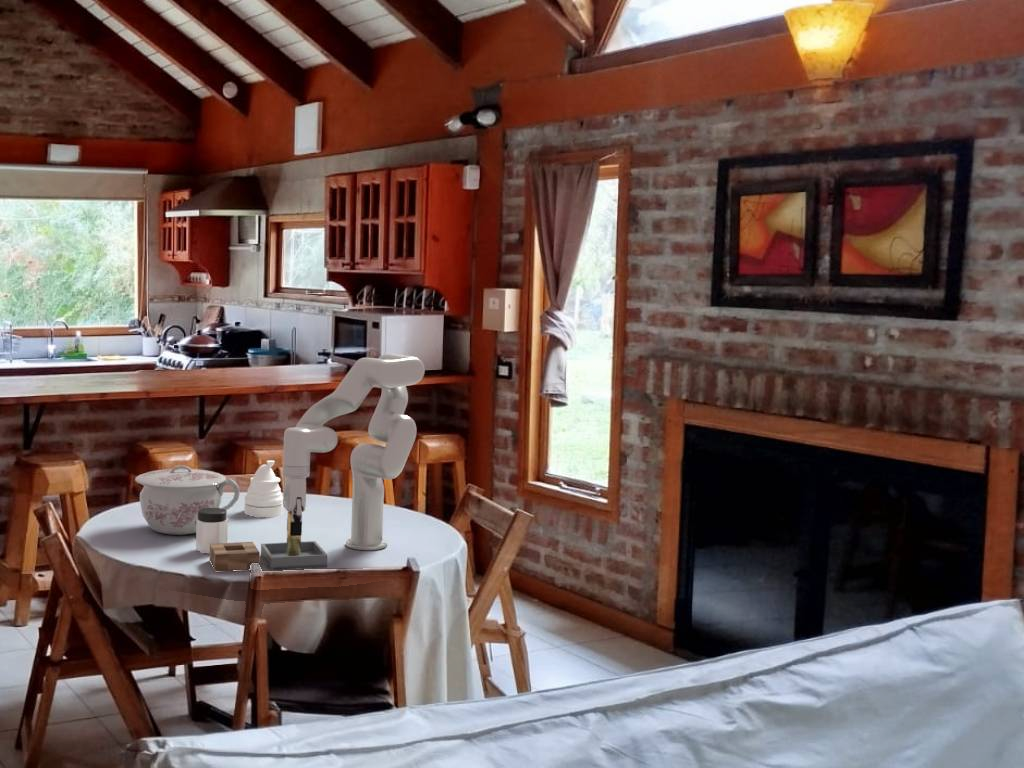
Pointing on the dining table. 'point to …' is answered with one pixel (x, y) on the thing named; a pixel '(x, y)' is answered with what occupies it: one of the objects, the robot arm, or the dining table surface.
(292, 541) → the brass pin
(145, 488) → the chamber pot
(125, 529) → the dining table surface
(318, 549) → the tray
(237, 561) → the socket block
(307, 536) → the dining table surface
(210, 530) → the jar
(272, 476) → the honey pot
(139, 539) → the dining table surface
